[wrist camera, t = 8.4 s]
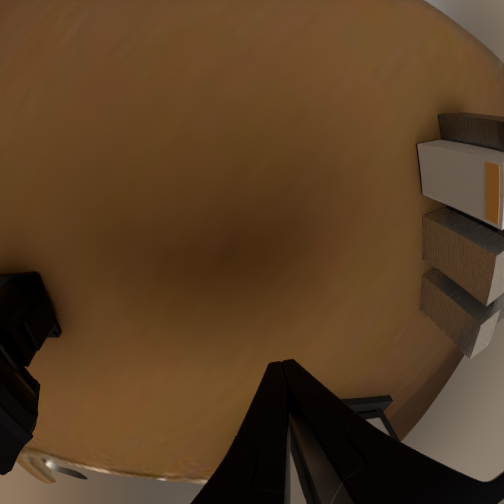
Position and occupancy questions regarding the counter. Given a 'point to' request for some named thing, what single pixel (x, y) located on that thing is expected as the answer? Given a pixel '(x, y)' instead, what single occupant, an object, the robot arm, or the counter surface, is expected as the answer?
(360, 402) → the lantern
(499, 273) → the box
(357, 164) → the counter surface
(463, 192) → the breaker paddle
